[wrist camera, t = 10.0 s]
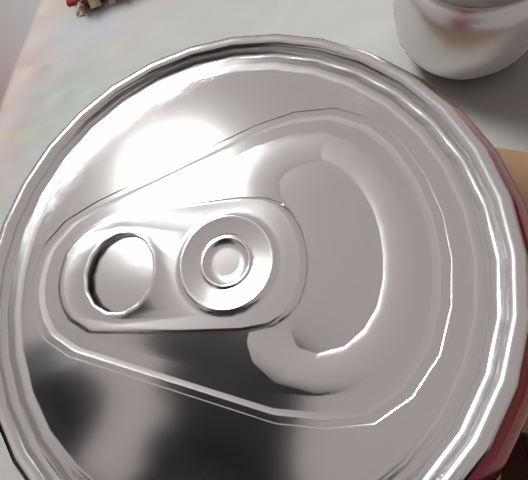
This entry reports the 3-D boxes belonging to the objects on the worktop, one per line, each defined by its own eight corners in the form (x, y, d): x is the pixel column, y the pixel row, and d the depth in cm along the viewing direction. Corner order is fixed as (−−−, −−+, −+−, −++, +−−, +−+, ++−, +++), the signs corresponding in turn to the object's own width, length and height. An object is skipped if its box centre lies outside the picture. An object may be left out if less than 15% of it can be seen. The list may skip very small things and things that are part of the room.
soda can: (418, 246, 16) (518, -33, 5) (434, 457, 14) (657, 737, 3) (236, 251, 18) (20, 49, 7) (224, 440, 16) (-114, 583, 5)
